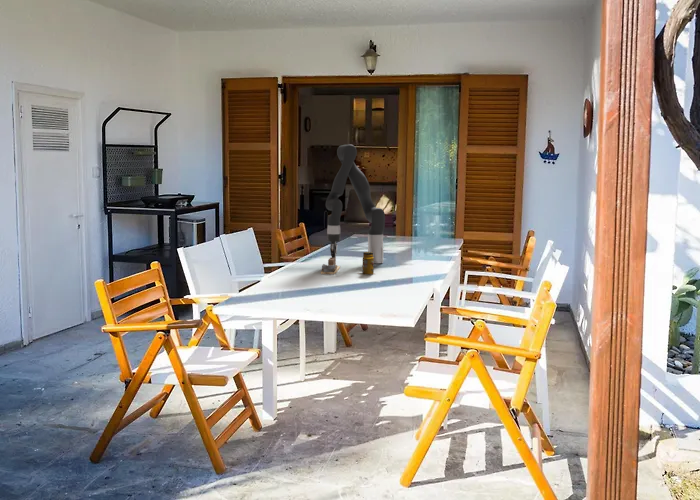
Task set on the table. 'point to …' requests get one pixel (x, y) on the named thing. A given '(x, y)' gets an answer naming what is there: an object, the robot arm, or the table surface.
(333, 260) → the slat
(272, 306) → the table surface
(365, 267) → the condiment
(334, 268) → the guide board
